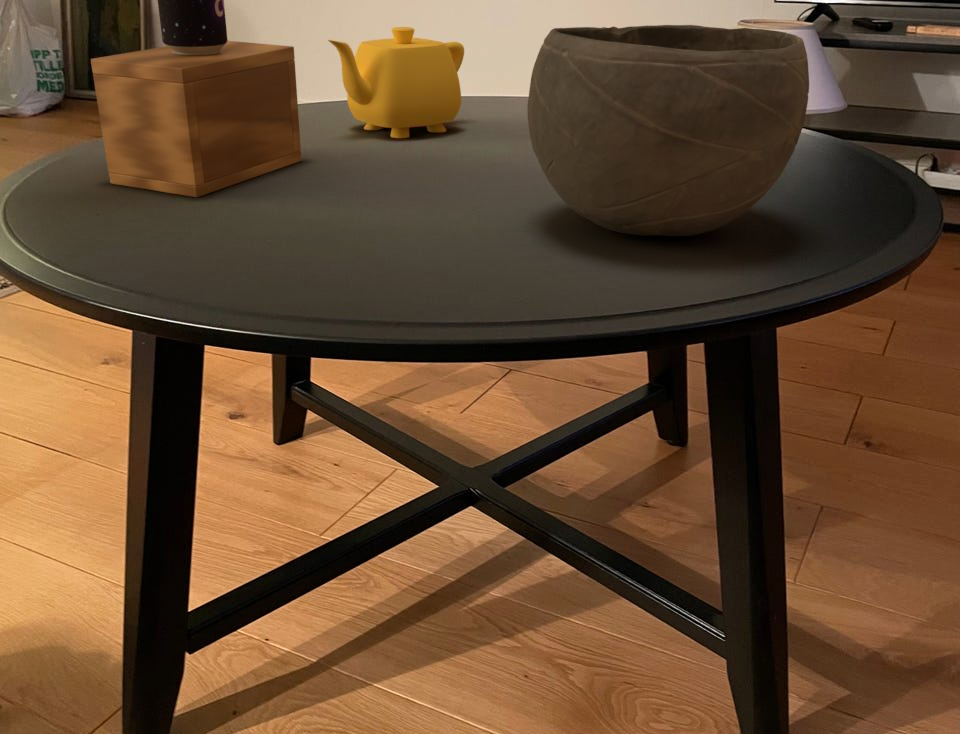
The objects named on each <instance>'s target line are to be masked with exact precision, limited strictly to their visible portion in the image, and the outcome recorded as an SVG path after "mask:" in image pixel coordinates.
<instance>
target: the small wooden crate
mask: <svg viewBox="0 0 960 734" xmlns="http://www.w3.org/2000/svg"><path fill="white" fill-rule="evenodd" d="M90 64H91V70H92V71H91V72H92V78H93V82H94V83H93V84H94V90H95V95H96V102H97V107H98V114H99V121H100V127H101V133H102V140H103V145H104V152H105V158H106V165H107V171H108V177H109V184H112V185H117V186H124V187H130V188H136V189H142V190H148V191H154V192H161V193H167V194H173V195H179V196H186V197H192V198H199V197H203V196H205V195H208V194H211V193H215V192H218V191H220V190H223V189H226V188H228V187H231V186H234V185H238V184H240V183H243V182H246V181H249V180H251V179H254V178H257V177H260V176H262V175H265V174H269V173H271V172H274V171H276V170H279V169H283V168H286V167H288V166H291V165H294V164H297V163H299V162H301V161H302V149H301V148H302V147H301V134H300V133H301V132H300V131H301V130H300V118H299V103H298V102H299V101H298V91H297V90H298V88H297V87H298V86H297V74H296V60H295V47H294V46H291V45H280V44H271V43H270V44H268V43H267V44H266V43H260V42H259V43H258V42H246V41H237V40H236V41H235V40H228V41H227V43H226V44H225V45H224V46H223V47H222V48H221V50H220V53H217V54H212V55H198V56H191V55H178V54H174V53H173V52H172V50H171V49H170V48H169V47H167V46H166V45H165V46H160V47H155V48H154V47H153V48H147V49H143V50H142V49H141V50H135V51H130V52H125V53H124V52H123V53H119V54H118V53H117V54H112V55H107V56H101V57H100V56H99V57H94V58H90Z"/></svg>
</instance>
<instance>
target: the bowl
mask: <svg viewBox="0 0 960 734" xmlns="http://www.w3.org/2000/svg"><path fill="white" fill-rule="evenodd" d="M809 93H810V72H809V59H808V53H807V50H806V46H805V42H804V39H803V38H801V36H800V37H799V35H796V34H793V33H789V32H788V33H787V32H786V31H780V30H773V29H772V30H771V29H764V28H750V27H739V28H724V27H715V26H714V27H713V26H712V27H711V26H704V25H703V26H702V25H695V24H657V25H638V26H636V25H635V26H625V27H618V26H617V27H616V26H611V27H606V26H603V27H597V26H596V27H595V26H594V27H593V26H582V27H581V26H579V27H578V26H575V27H554V28H551V30H550V31H549V32H548V34H547V35H546V36H545V38H544V40H543V43H542V44H541V46H540V49H539V50H538V54H537V56H536V59H535V62H534V64H533V67H532V73H531V78H530V83H529V91H528V99H527V125H528V132H529V138H530V142H531V146H532V147H531V148H532V150H533V152H534V154H535V157H536V160H537V162H538V164H539V165H540V168H541V170H542V172H543V173H544V175H545V178H546V179H547V181H548V182H549V184H550V185H551V187H552V188H553V190H554V191H555V192H556V193H557V195H558V196H559V197H560V198H561V200H562V201H563V202H565V204H566V205H567V206H568V207H570V208H571V209H572V210H573V211H574V212H575V213H576V214H578V215H580V216H581V217H583V218H585V219H586V220H588V221H591V222H592V223H594V224H596V225H597V226H599V227H601V228H604V229H606V230H609V231H614V232H617V233H620V234H626V235H633V236H642V237H643V236H645V237H646V236H647V237H648V236H662V237H691V236H692V237H693V236H698V235H701V234H704V233H708V232H712V231H714V230H717V229H720V228H722V227H724V226H725V225H727V224H729V223H730V222H733V220H735V219H737V218H738V217H739V216H741V215H742V214H743V213H745V212H746V211H748V210H749V209H751V208H753V206H755V205H756V204H757V203H758V202H759V201H760V200H761V199H762V198H763V197H764V196H765V195H766V194H767V193H768V192H769V191H770V190H771V188H772V187H773V186H774V185H775V183H776V182H777V181H778V179H779V178H780V177H781V175H782V174H783V172H784V170H785V168H786V166H788V163H789V161H790V160H791V158H792V155H793V153H794V152H795V150H796V146H797V144H798V141H799V139H800V136H801V133H802V131H803V128H804V125H805V120H806V115H807V111H808V110H807V109H808V105H809V104H808V103H809Z"/></svg>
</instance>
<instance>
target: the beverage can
mask: <svg viewBox="0 0 960 734" xmlns="http://www.w3.org/2000/svg"><path fill="white" fill-rule="evenodd" d="M157 8H158V17H159V24H160V31H161V40H162V43H163V44H164V45H165V46H167V47H169V48H170V49H171V50H172V52H173V53H174V54H178V55H191V56H198V55H212V54H217V53H220V50H221V48H222V47H223V46H224V45H225V44H226V43H227V41H229V40H228V30H227V22H226V21H227V20H226V9H225V8H226V7H225V0H157Z"/></svg>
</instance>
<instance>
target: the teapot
mask: <svg viewBox="0 0 960 734" xmlns="http://www.w3.org/2000/svg"><path fill="white" fill-rule="evenodd" d="M391 33H392V36H393V37H392V38H381V39H380V38H379V39H371V40H365V41H361V42H360V43H359V44H358V47H357V49H356V52H355V54H354V51H353V49H352V48H351V46H350V45H349V44H348V43H346V42H344V41H338V40H333V39H332V40H331V39H327V41H328V42H329V43H330V44H331V45H333V46H334V47H335V48H336V50H337V52H338V54H339V58H340V62H341V77H342V83H343V87H344V90H345V91H346V94H347V95H346V96H347V98H346V99H347V100H346V101H347V106H348V108H349V111H350V112H351V114H352V117H353V118H354V119H355V120H357V121H360V122H363V123H366V124H365V125H364V127H363V129H364V130H365V131H366V130H367V131H378V130H379V131H381V130H383V128H387V129H389V128H390V130H391V131H390V137H391V138H393V139H406V138H407V139H408V138H410V136H411V135H410V128H418V127H426V130H427V132H430V133H445V132H447V129H446V127H445V126H444V124H443V123H448V122H451V121H453V120H455V119H456V117H457V115H458V113H459V112H460V109H461V107H462V92H461V85H460V79H459V74H458V72H459V70H460V69H461V66H462V63H463V60H464V56H465V47H464V45H463V44H462V43H461V42H458V41H448V42H443V41H440V40H439V41H438V40H433V39H427V38H419V37H414V34H415V28H413V27H410V26H395V27H392V28H391Z"/></svg>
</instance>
